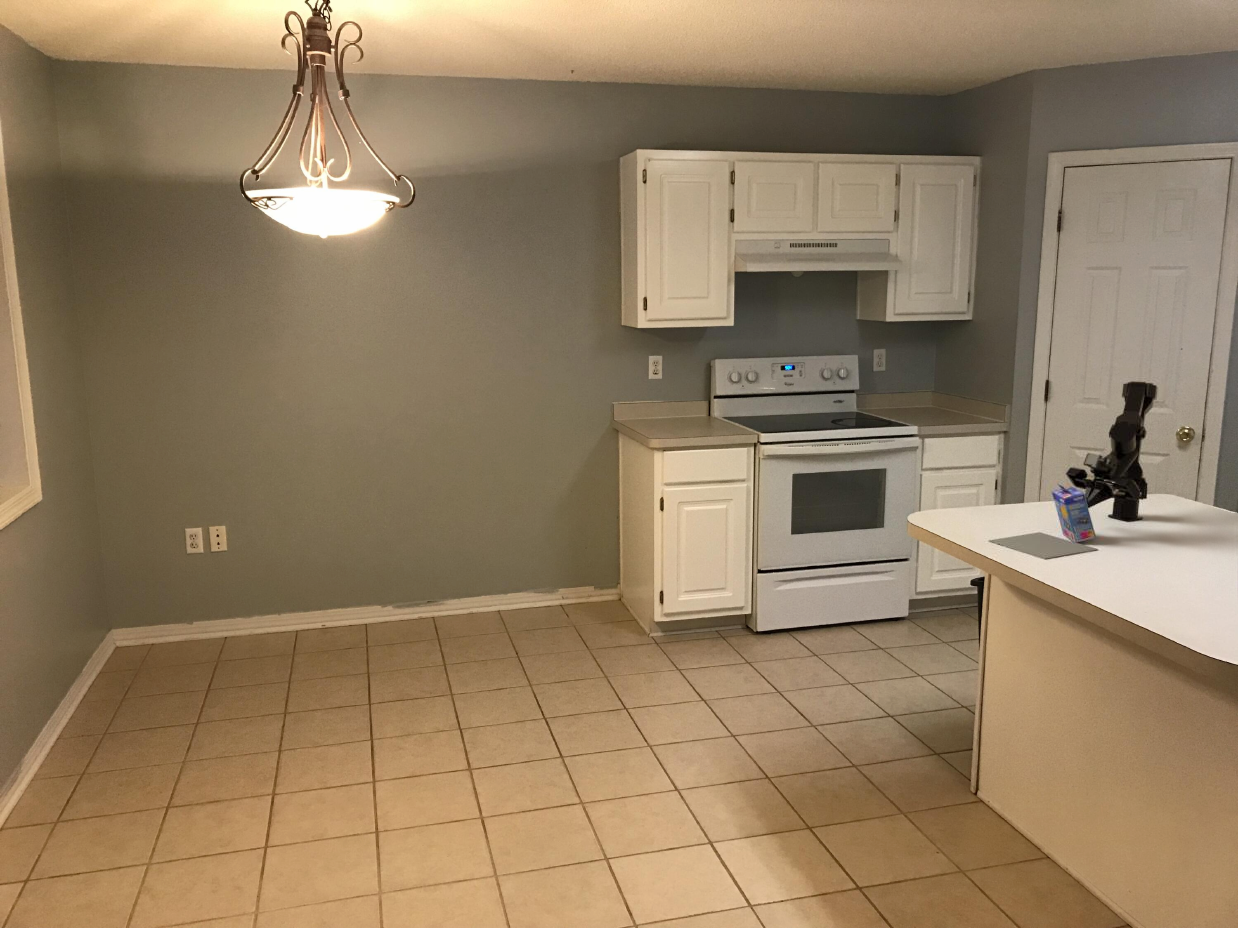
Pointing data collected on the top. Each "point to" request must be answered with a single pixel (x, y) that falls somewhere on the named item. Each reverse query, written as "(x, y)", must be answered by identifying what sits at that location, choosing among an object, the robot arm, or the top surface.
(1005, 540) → the mat
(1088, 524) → the ink cartridge box
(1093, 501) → the robot arm
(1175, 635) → the top surface
